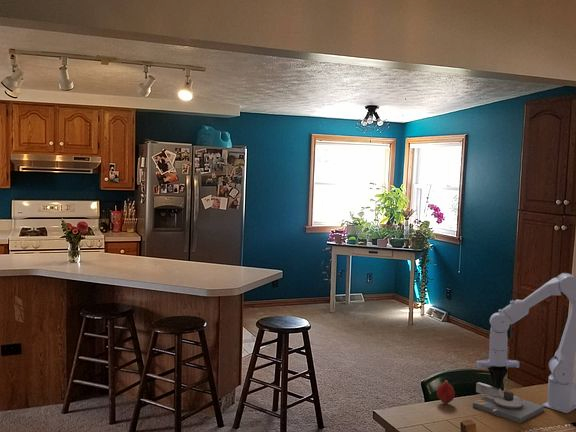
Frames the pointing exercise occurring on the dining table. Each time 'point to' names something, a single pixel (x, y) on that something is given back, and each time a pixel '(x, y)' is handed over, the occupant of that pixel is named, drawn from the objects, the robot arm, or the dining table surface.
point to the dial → (500, 396)
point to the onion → (445, 392)
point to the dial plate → (511, 414)
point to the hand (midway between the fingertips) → (496, 388)
